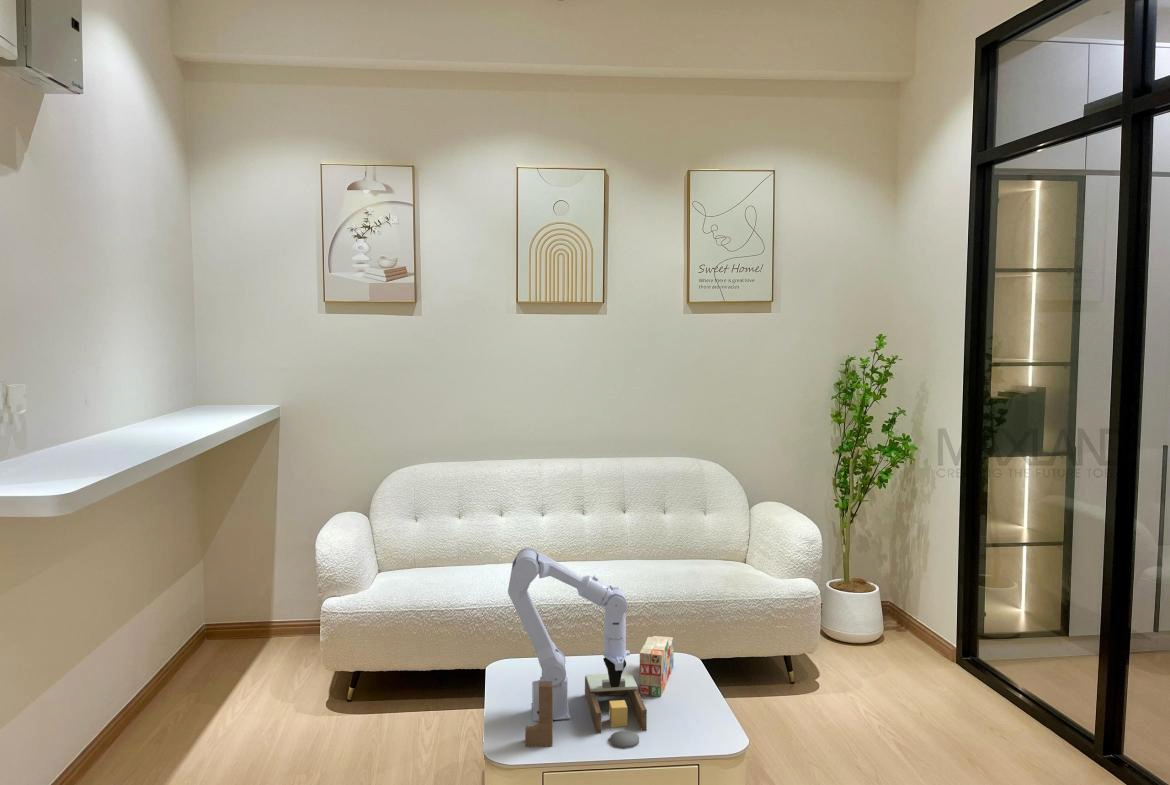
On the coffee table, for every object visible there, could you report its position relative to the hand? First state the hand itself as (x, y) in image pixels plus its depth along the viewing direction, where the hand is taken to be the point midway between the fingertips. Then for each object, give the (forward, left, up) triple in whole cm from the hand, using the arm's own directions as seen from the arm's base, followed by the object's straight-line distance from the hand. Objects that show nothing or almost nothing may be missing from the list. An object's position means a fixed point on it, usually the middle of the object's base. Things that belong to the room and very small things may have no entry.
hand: (614, 686), depth 212 cm
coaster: (0, -15, -7) cm, 17 cm away
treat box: (0, 0, -7) cm, 7 cm away
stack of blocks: (+16, +18, -8) cm, 25 cm away
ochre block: (0, -6, -7) cm, 9 cm away
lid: (0, +5, -2) cm, 6 cm away
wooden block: (-21, -14, -7) cm, 26 cm away
